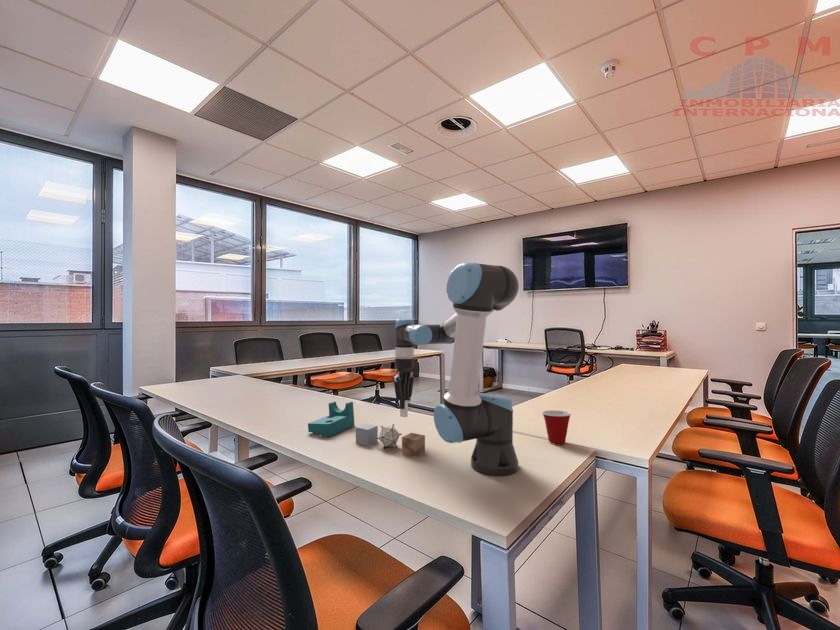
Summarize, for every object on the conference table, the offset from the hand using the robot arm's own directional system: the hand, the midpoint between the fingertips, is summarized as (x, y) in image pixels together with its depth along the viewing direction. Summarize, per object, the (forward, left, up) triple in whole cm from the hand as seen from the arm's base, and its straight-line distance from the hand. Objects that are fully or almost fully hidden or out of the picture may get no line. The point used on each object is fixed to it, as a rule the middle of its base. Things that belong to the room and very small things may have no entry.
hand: (403, 416), depth 145 cm
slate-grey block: (+11, +10, -9) cm, 17 cm away
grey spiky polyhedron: (0, +10, -9) cm, 14 cm away
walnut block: (-11, +10, -9) cm, 18 cm away
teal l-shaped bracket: (+34, +6, -10) cm, 35 cm away
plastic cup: (-52, -29, -9) cm, 60 cm away
